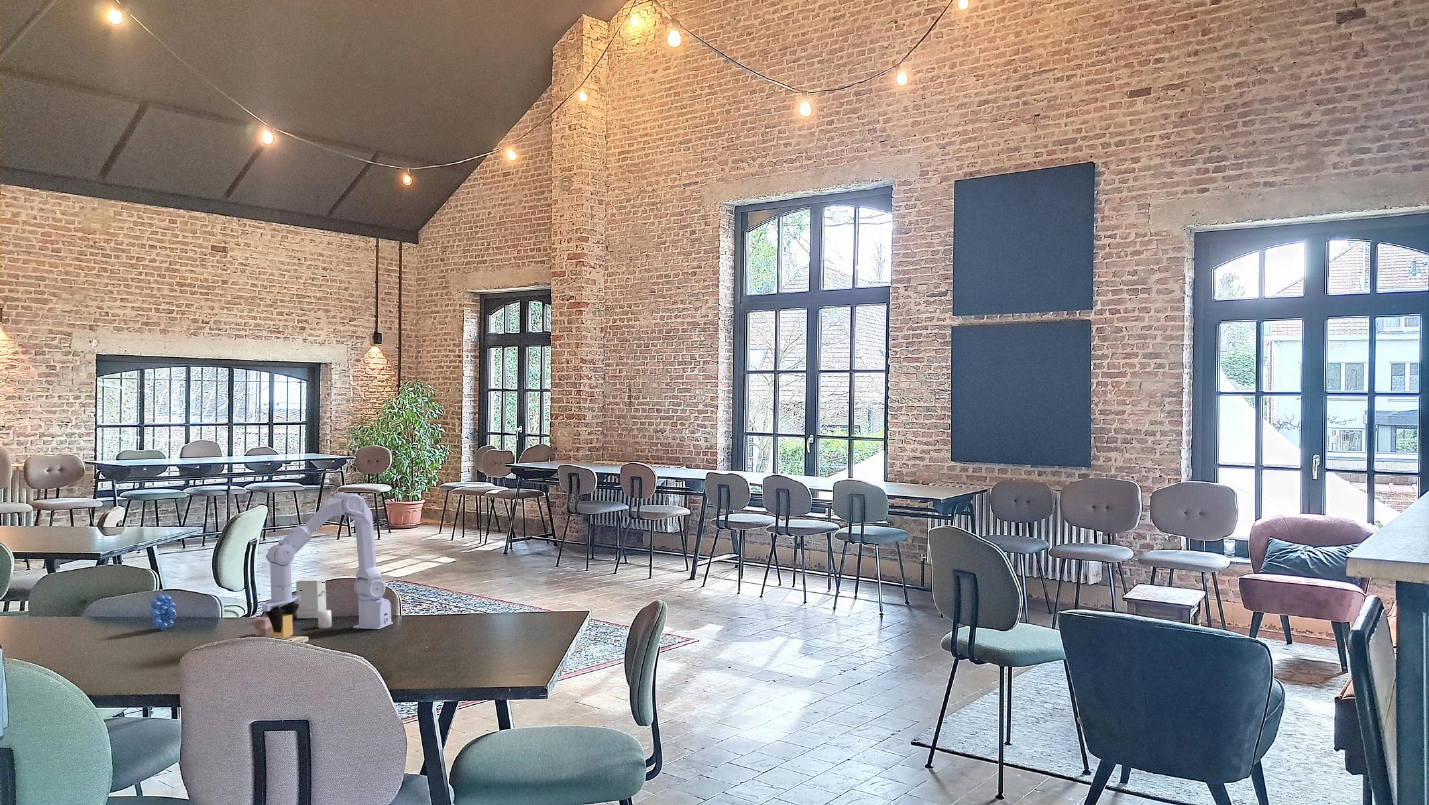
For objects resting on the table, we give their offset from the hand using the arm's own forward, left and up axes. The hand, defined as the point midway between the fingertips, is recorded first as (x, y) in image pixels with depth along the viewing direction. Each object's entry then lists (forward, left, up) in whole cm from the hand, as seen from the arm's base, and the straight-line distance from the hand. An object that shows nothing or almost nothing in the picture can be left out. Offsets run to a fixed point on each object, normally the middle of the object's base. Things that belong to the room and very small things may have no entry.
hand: (282, 630), depth 304 cm
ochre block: (0, 0, -2) cm, 2 cm away
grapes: (+52, -9, -4) cm, 53 cm away
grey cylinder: (+2, -22, -4) cm, 22 cm away
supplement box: (+17, -35, -4) cm, 39 cm away
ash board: (0, 0, -4) cm, 4 cm away
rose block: (+15, -10, -4) cm, 19 cm away
